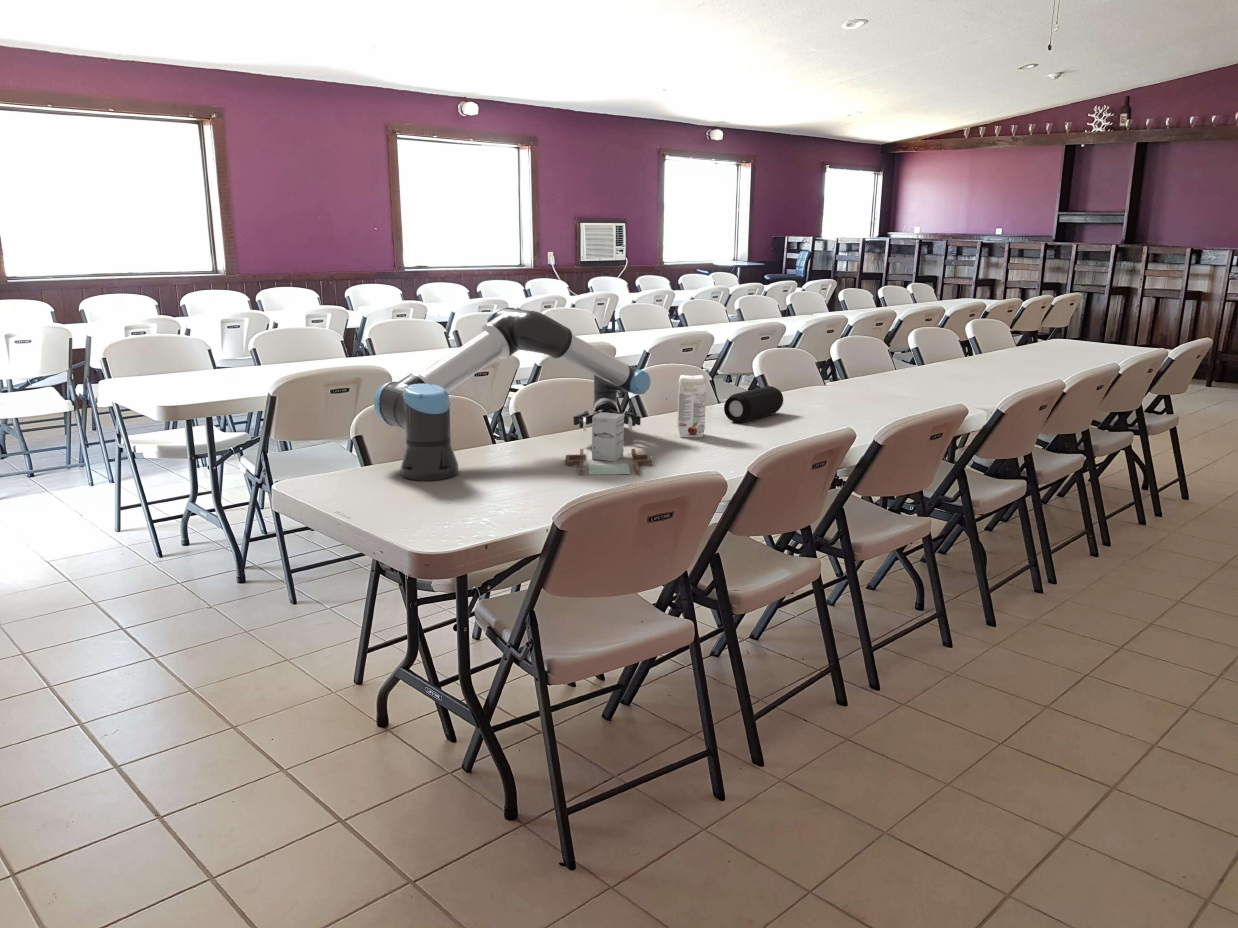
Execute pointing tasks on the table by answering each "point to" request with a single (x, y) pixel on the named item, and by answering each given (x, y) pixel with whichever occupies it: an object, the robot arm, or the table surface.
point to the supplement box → (607, 436)
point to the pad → (608, 469)
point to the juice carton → (691, 406)
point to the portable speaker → (753, 404)
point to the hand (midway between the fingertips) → (607, 426)
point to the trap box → (638, 458)
